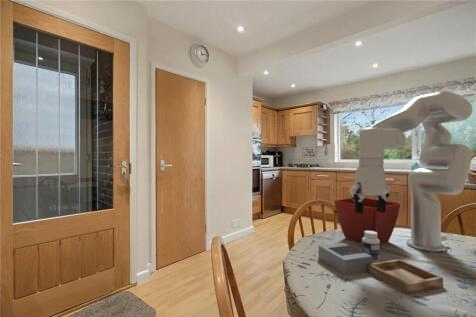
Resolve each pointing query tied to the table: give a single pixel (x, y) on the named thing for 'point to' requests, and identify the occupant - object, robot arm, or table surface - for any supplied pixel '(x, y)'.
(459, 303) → the table surface
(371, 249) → the pill bottle
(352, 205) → the plant pot
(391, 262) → the tray
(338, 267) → the dock
